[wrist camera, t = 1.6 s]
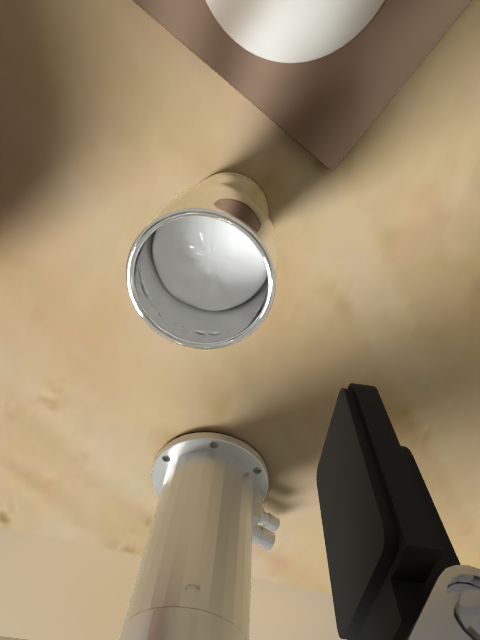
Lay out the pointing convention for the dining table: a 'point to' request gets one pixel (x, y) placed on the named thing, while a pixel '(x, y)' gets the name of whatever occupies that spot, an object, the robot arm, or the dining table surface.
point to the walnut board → (312, 57)
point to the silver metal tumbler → (206, 264)
